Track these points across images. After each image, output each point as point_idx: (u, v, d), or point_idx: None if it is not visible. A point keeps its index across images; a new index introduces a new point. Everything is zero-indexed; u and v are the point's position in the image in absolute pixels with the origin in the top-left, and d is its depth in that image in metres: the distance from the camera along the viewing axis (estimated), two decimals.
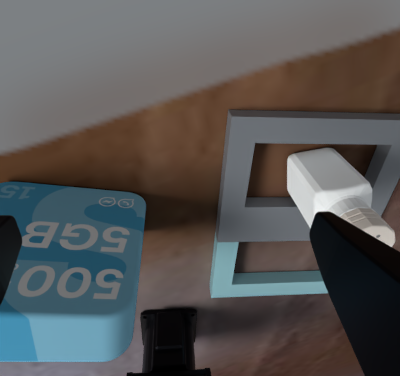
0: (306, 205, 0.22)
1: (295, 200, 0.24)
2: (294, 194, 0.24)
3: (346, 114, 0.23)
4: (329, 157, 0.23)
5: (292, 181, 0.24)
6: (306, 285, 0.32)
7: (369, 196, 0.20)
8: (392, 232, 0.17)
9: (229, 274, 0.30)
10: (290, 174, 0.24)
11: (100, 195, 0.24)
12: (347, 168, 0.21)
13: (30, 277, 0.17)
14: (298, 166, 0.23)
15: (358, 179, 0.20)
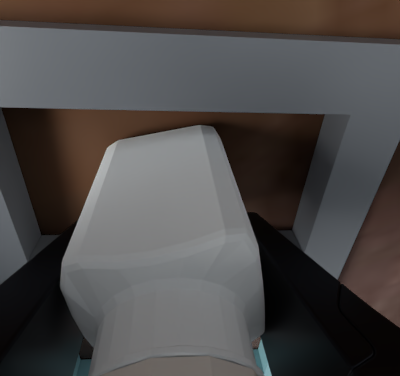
0: None
1: None
2: None
3: (225, 32, 0.09)
4: (184, 147, 0.09)
5: None
6: None
7: (248, 276, 0.06)
8: None
9: None
10: None
11: None
12: (206, 177, 0.07)
13: None
14: (100, 170, 0.09)
15: (213, 216, 0.06)
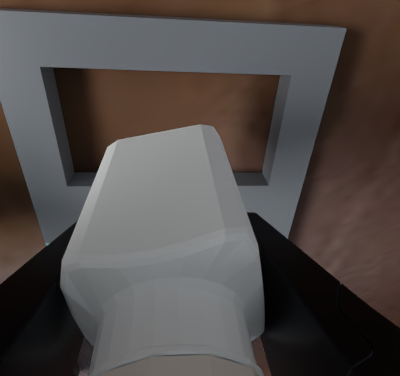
0: None
1: None
2: None
3: (205, 19, 0.13)
4: (184, 146, 0.09)
5: None
6: None
7: (248, 276, 0.06)
8: None
9: None
10: None
11: None
12: (206, 177, 0.07)
13: None
14: (101, 169, 0.09)
15: (213, 215, 0.06)
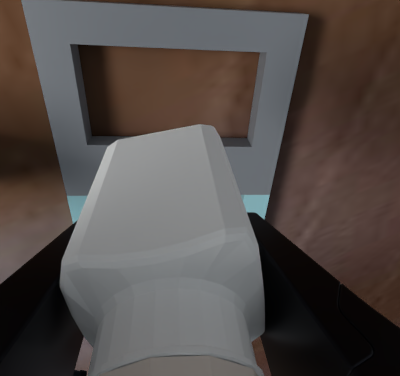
0: None
1: None
2: None
3: (199, 7, 0.17)
4: (184, 146, 0.09)
5: None
6: None
7: (248, 276, 0.06)
8: None
9: None
10: None
11: None
12: (206, 176, 0.07)
13: None
14: (100, 169, 0.09)
15: (213, 215, 0.06)
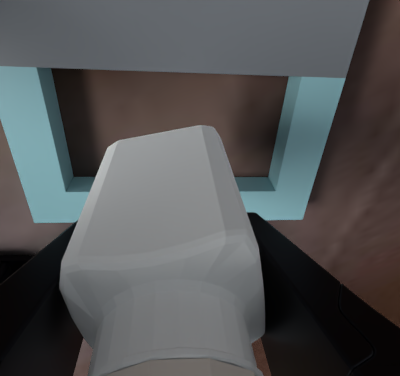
0: None
1: None
2: None
3: None
4: (184, 147, 0.09)
5: None
6: None
7: (248, 278, 0.06)
8: None
9: (50, 164, 0.14)
10: None
11: None
12: (206, 178, 0.07)
13: None
14: (101, 170, 0.09)
15: (213, 217, 0.06)
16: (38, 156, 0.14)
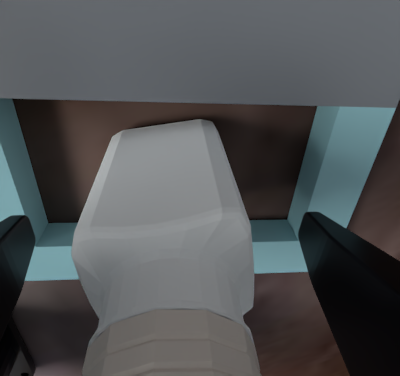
0: None
1: None
2: None
3: None
4: (185, 138, 0.09)
5: None
6: None
7: (240, 251, 0.06)
8: None
9: None
10: None
11: None
12: (205, 164, 0.08)
13: None
14: (107, 156, 0.09)
15: (211, 197, 0.07)
16: None
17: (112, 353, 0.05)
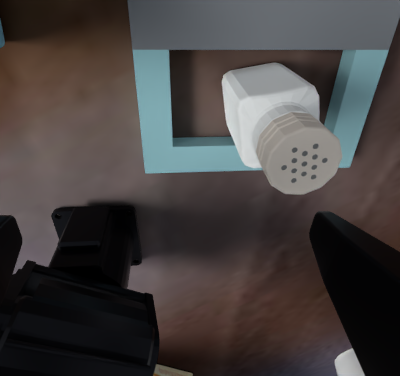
0: (235, 127, 0.16)
1: (230, 131, 0.19)
2: (229, 123, 0.19)
3: None
4: (271, 69, 0.17)
5: (226, 106, 0.18)
6: None
7: (314, 106, 0.14)
8: (336, 140, 0.12)
9: (165, 124, 0.19)
10: (224, 97, 0.19)
11: None
12: (290, 75, 0.16)
13: None
14: (230, 80, 0.17)
15: (300, 83, 0.14)
16: (158, 118, 0.19)
17: (278, 124, 0.12)
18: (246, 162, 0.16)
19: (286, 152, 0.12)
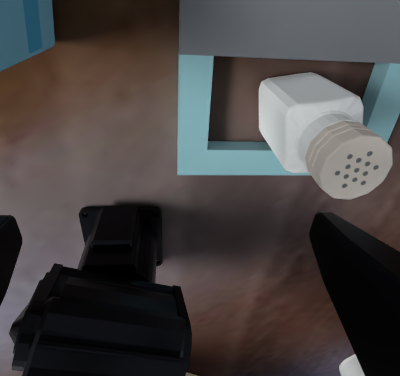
0: (278, 133, 0.17)
1: (267, 136, 0.19)
2: (266, 129, 0.19)
3: None
4: (310, 78, 0.18)
5: (263, 112, 0.19)
6: None
7: (359, 115, 0.15)
8: (389, 148, 0.12)
9: (202, 128, 0.20)
10: (261, 104, 0.19)
11: None
12: (332, 85, 0.16)
13: None
14: (270, 87, 0.18)
15: (345, 93, 0.15)
16: (196, 121, 0.19)
17: (331, 131, 0.13)
18: (287, 167, 0.17)
19: (341, 159, 0.12)
